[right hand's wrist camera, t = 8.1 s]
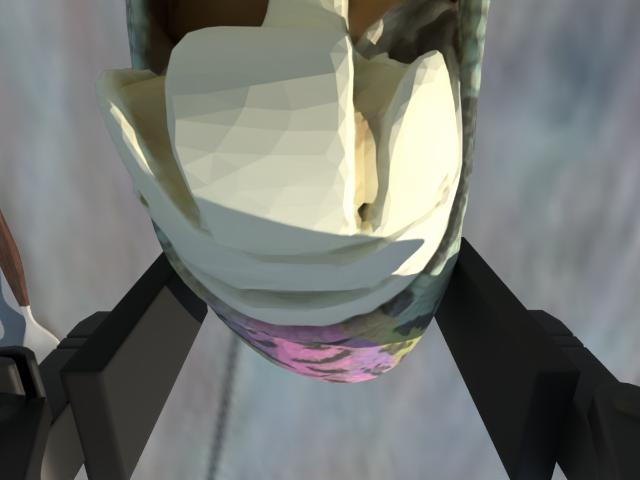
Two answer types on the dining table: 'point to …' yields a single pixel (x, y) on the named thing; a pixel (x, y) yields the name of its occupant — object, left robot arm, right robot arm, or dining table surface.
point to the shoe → (305, 164)
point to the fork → (23, 296)
